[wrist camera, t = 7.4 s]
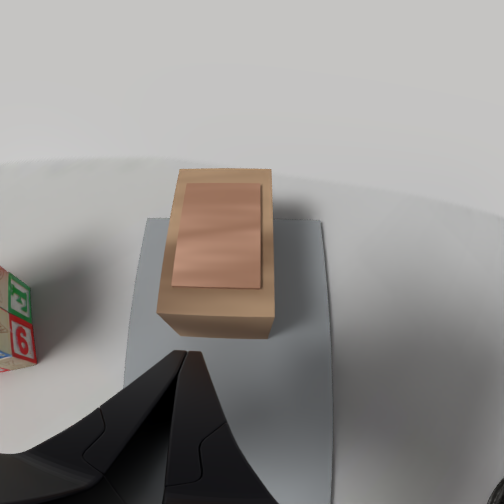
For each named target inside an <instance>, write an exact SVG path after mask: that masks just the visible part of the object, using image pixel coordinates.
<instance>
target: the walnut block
mask: <svg viewBox="0 0 504 504" xmlns="http://www.w3.org/2000/svg"><path fill="white" fill-rule="evenodd" d="M156 313H157V314H158V315H159V316H160V317H161V318H162V319H163V320H164V321H165V322H166V323H167V324H168V325H169V326H170V327H171V328H172V329H173V330H174V331H175V332H177V333H178V334H179V335H180V336H185V337H203V338H227V339H268V336H269V333H270V330H271V327H272V324H273V321H274V318H275V301H274V244H273V206H272V174H271V169H233V168H219V169H180V170H179V175H178V180H177V185H176V190H175V195H174V200H173V205H172V210H171V216H170V221H169V227H168V233H167V239H166V245H165V251H164V258H163V264H162V271H161V278H160V286H159V294H158V302H157V310H156Z"/></svg>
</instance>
